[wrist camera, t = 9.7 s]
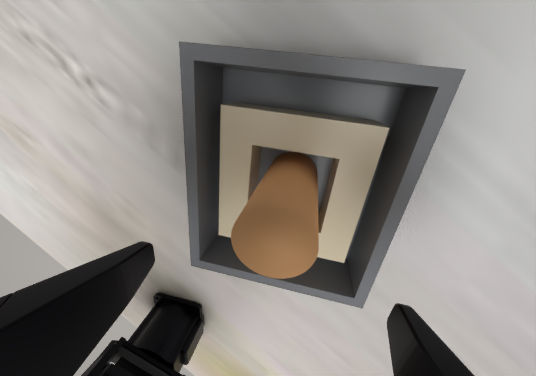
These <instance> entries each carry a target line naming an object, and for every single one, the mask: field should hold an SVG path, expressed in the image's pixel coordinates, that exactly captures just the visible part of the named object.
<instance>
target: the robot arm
mask: <svg viewBox="0 0 536 376" xmlns="http://www.w3.org/2000/svg"><path fill="white" fill-rule="evenodd" d="M154 262H155V257H154V250H153V245H152V244H151V243H147V242H138V243H136V244H133V245H131V246H128V247H126V248H123V249H121V250H118V251H116V252H113V253H111V254H108V255H106V256H103V257H101V258H98V259H96V260H93V261H91V262H88V263H86V264H83V265H81V266H78V267H76V268H73V269H71V270H68V271H66V272H63V273H61V274H58V275H56V276H53V277H51V278H48V279H46V280H43V281H41V282H38V283H36V284H33V285H31V286H28V287H26V288H23V289H21V290H18V291H16V292H14V293H11V294H8V295H6V296H3V297H1V298H0V376H73V375H74V374H75V373H76V371H77V370H78V369H79V367H80V366H81V365H82V363H83V362H84V361H85V360H86V358H87V357H88V356H89V354H90V353H91V352H92V350H93V349H94V348H95V347H96V345H97V344H98V343H99V341H100V340H101V339H102V337H103V336H104V335H105V334H106V332H107V331H108V330H109V328H110V327H111V326H112V325H113V323H114V322H115V321H116V319H117V318H118V317H119V315H120V314H121V313H122V312H123V310H124V309H125V308H126V306H127V305H128V304H129V302H130V301H131V299H132V298H133V296H134V295H135V293H136V292H137V290H138V289H139V287H140V285H141V284H142V282H143V281H144V279H145V278H146V276H147V274H148V273H149V271H150V270H151V268H152V267H153V265H154ZM154 302H155V306H154V307H153V308H152V310H151V311H150V312H149V314H148V315H147V316H146V318H145V319H144V320H143V321H142V323H141V324H140V325H139V327H138V328H137V329H136V331H135V332H134V333H133V335H132V336H131V337H130V339H129V340H128V341H126V339H125V338H123V337H121V338H120V340H119V341H115V340H112V341H111V342H110V344H109V345H108V346H107V347H106V348H105V350H104V351H103V352H102V353H101V354H100V356H99V357H98V358H97V359H96V360H95V361H94V362H93V364H91V365H90V367H89V368H88V369H87V370H86V371H85V372H84V373H83V374H82V375H81V376H185V375H182V374H180V373H179V372H180V370H181V368H182V366H183V364H184V365H187V364H188V363H189V361H190V359H191V357H192V355H193V353H194V350H195V348H196V346H197V344H198V342H199V340H200V338H201V336H202V334H203V320H202V311H201V306H200V305H199V304H197V303H193V302H189V301H186V300H182V299H178V298H175V297H171V296H168V295H164V294H160V293H156V294H155V296H154ZM387 329H388V337H389V344H390V352H391V359H392V367H393V373H394V376H474V375H473V374H472V373H471V372H470V370H469V369H468V368H467V367H466V366H465V365H464V364H463V363H462V362H461V361H460V360H459V358H458V357H457V356H456V355H455V354H454V353H453V352H452V351H451V350H450V349H449V348H448V346H447V345H446V344H445V343H444V342H443V341H442V340H441V339H440V338H439V337H438V336H437V334H436V333H435V332H434V331H433V330H432V329H431V328H430V327H429V326H428V325H427V324H426V322H425V321H424V320H423V319H422V318H421V317H420V316H419V315H418V314H417V313H416V312H415V311H414V309H413V308H411V307H410V306H408V305H403V304H399V303H397V304H395V306H394V307H393V309H392V311H391V313H390V315H389V317H388V320H387ZM110 362H113V363H115V365H114V364H110Z"/></svg>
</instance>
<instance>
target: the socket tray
mask: <svg viewBox="0 0 536 376" xmlns="http://www.w3.org/2000/svg"><path fill="white" fill-rule="evenodd" d="M179 48H180V67H181V86H182V105H183V124H184V143H185V162H186V181H187V199H188V218H189V237H190V256H191V266H195V267H199V268H203V269H207V270H211V271H215V272H219V273H223V274H227V275H231V276H235V277H239V278H243V279H247V280H251V281H255V282H259V283H263V284H267V285H271V286H275V287H279V288H283V289H287V290H291V291H295V292H299V293H303V294H307V295H311V296H315V297H319V298H323V299H327V300H331V301H335V302H339V303H343V304H347V305H351V306H355V307H359V308H363V306H364V304H365V301H366V299H367V297H368V294H369V292H370V290H371V287H372V285H373V283H374V280H375V278H376V276H377V274H378V271H379V269H380V267H381V264H382V262H383V260H384V257H385V255H386V253H387V250H388V248H389V246H390V244H391V241H392V239H393V237H394V234H395V232H396V230H397V227H398V225H399V223H400V220H401V218H402V216H403V214H404V211H405V209H406V207H407V204H408V202H409V200H410V197H411V195H412V193H413V190H414V188H415V186H416V184H417V181H418V179H419V177H420V174H421V172H422V170H423V167H424V165H425V163H426V160H427V158H428V156H429V154H430V151H431V149H432V147H433V144H434V142H435V140H436V137H437V135H438V133H439V130H440V128H441V126H442V124H443V121H444V119H445V117H446V114H447V112H448V110H449V107H450V105H451V103H452V100H453V98H454V96H455V94H456V91H457V89H458V87H459V84H460V82H461V80H462V77H463V75H464V73H465V70H464V69H454V68H444V67H433V66H423V65H413V64H403V63H393V62H382V61H372V60H362V59H352V58H342V57H332V56H321V55H311V54H301V53H291V52H281V51H270V50H260V49H250V48H240V47H230V46H219V45H209V44H199V43H189V42H179ZM286 152H299V153H302V154H304V155H306V156H308V157H309V158H310V159H311V160H312V161H313V162H314V164H315V166H316V168H317V172H318V235H319V250H318V255H317V258H316V260H315V262H314V264H313V265H312V266H311V267H310V268H309V269H308V270H307V271H306V272H304V273H302V274H300V275H298V276H295V277H292V278H285V279H277V278H270V277H266V276H263V275H260V274H258V273H256V272H254V271H252V270H251V269H249V268H248V267H247V266H245V265H244V264H243V263H242V262H241V261H240V259H239V258H238V257H237V255H236V253H235V251H234V249H233V246H232V242H231V231H232V228H233V225H234V223H235V221H236V220H237V218H238V217H239V215H240V213H241V212H242V210H243V208H244V207H245V205H246V204H247V202H248V200H249V199H250V197H251V196H252V194H253V192H254V191H255V189H256V188H257V186H258V184H259V183H260V181H261V180H262V178H263V176H264V175H265V173H266V171H267V170H268V168H269V167H270V165H271V163H272V162H273V161H274V159H275V158H276V157H278V156H279V155H281V154H283V153H286Z"/></svg>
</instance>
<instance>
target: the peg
mask: <svg viewBox="0 0 536 376" xmlns="http://www.w3.org/2000/svg"><path fill="white" fill-rule="evenodd" d="M231 242H232V246H233V249H234V251H235V253H236V255H237V257H238V258H239V259H240V261H241V262H242V263H243V264H244V265H245V266H247V267H248V268H249V269H251V270H252V271H254V272H256V273H258V274H260V275H263V276H266V277H270V278H277V279H285V278H292V277H295V276H298V275H300V274H302V273H304V272H306V271H307V270H308V269H309V268H310V267H311V266H312V265H313V264H314V262H315V260H316V258H317V255H318V250H319V235H318V172H317V168H316V166H315V164H314V162H313V161H312V160H311V159H310V158H309V157H308V156H306V155H304V154H302V153H299V152H286V153H283V154H281V155H279V156H278V157H276V158H275V159H274V161H273V162H272V163H271V165H270V167H269V168H268V170H267V171H266V173H265V175H264V176H263V178H262V180H261V181H260V183H259V184H258V186H257V188H256V189H255V191H254V192H253V194H252V196H251V197H250V199H249V200H248V202H247V204H246V205H245V207H244V208H243V210H242V212H241V213H240V215H239V217H238V218H237V220H236V221H235V223H234V225H233V228H232V231H231Z"/></svg>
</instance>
